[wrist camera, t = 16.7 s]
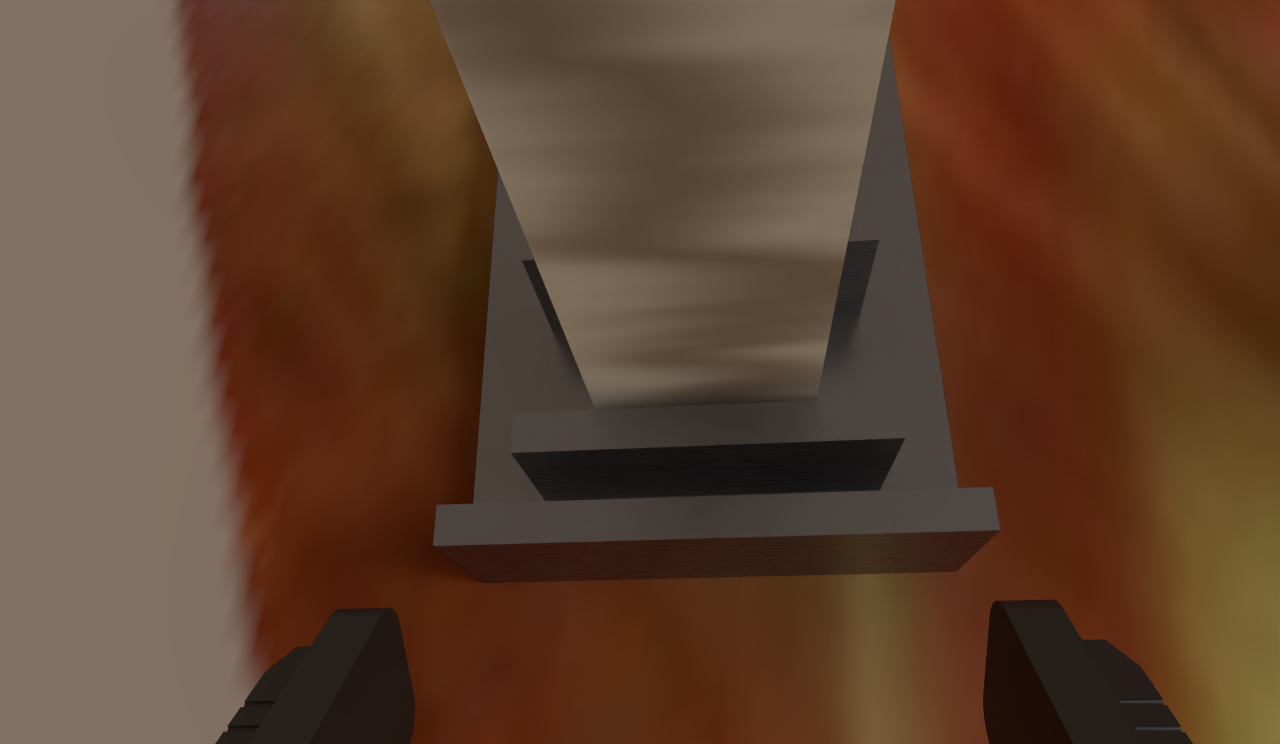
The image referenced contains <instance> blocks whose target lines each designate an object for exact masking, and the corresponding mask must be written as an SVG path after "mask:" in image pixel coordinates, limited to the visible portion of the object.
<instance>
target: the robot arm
mask: <svg viewBox="0 0 1280 744" xmlns="http://www.w3.org/2000/svg"><path fill="white" fill-rule="evenodd" d="M983 707H984V719H985V726H986V731H987V735H988V740H989V743H990V744H1193V743H1192V742H1191V740H1190V739H1189V737H1188V736H1187V734H1186V733H1185V732H1181V728H1180V724H1179V723H1178V721H1177V720H1176V718H1175V717H1174V715H1173V714H1172V712H1171V711H1170V709H1169V708H1168V706H1167V705H1163V702H1162V697H1161V696H1160V694H1159V693H1158V692H1157V690H1156V689H1155V687H1154V686H1153V684H1152V683H1151V681H1150V680H1149V678H1148V677H1147V675H1146V674H1145V672H1144V671H1143V669H1142V668H1141V667H1140V666H1139V665H1138V664H1136V663H1135V662H1134V661H1132V660H1131V659H1130V658H1129V657H1127V656H1126V655H1125V654H1123V653H1122V652H1121V651H1119V650H1118V649H1117V648H1115V647H1114V646H1113V645H1111V644H1110V643H1109V642H1107V641H1106V640H1082V639H1081V637H1080V636H1079V634H1078V632H1077V631H1076V629H1075V627H1074V626H1073V624H1072V623H1071V621H1070V619H1069V618H1068V616H1067V614H1066V613H1065V611H1064V609H1063V608H1062V606H1061V605H1060V604H1059V603H1058V602H1057V601H1056V600H1013V601H995V602H994V603H993V604H992V607H991V611H990V619H989V631H988V644H987V656H986V669H985V681H984V694H983ZM414 717H415V704H414V695H413V690H412V685H411V680H410V674H409V669H408V664H407V659H406V654H405V649H404V644H403V639H402V634H401V628H400V623H399V619H398V616H397V614H396V612H395V611H394V610H393V609H391V608H368V609H338V610H336V611H335V612H334V613H333V614H332V615H331V616H330V618H329V619H328V621H327V623H326V624H325V626H324V627H323V629H322V630H321V632H320V633H319V635H318V637H317V638H316V640H315V641H314V643H313V644H312V646H311V647H296V648H295V649H293V650H292V651H291V652H290V653H288V654H287V655H286V656H285V657H283V658H282V659H281V660H280V661H278V662H277V663H276V664H275V665H273V666H272V667H271V668H269V669H268V670H267V671H266V672H265V673H264V674H263V676H262V677H261V679H260V680H259V681H258V683H257V684H256V686H255V687H254V689H253V690H252V692H251V693H250V694H249V696H248V697H247V699H246V700H245V706H244V707H241V708H240V709H239V711H238V712H237V713H236V715H235V716H234V718H233V719H232V720H231V722H230V723H229V725H228V731H227V732H223V733H222V735H221V736H220V738H219V739H218V741H217V742H216V744H410V741H411V737H412V733H413V727H414Z"/></svg>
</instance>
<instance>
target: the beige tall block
mask: <svg viewBox="0 0 1280 744" xmlns="http://www.w3.org/2000/svg"><path fill="white" fill-rule="evenodd" d="M429 1H430V3H431V6H432V8H433V11H434V13H435V16H436V18H437V21H438V23H439V26H440V28H441V30H442V33H443V35H444V38H445V40H446V43H447V45H448V48H449V50H450V53H451V55H452V58H453V60H454V63H455V65H456V67H457V70H458V72H459V75H460V77H461V80H462V82H463V85H464V87H465V90H466V92H467V95H468V97H469V99H470V102H471V104H472V107H473V109H474V112H475V114H476V117H477V119H478V122H479V124H480V127H481V129H482V131H483V134H484V136H485V139H486V141H487V144H488V146H489V149H490V151H491V154H492V156H493V159H494V161H495V164H496V166H497V168H498V171H499V173H500V176H501V178H502V181H503V183H504V186H505V188H506V191H507V193H508V196H509V198H510V200H511V203H512V205H513V208H514V210H515V213H516V215H517V218H518V220H519V223H520V225H521V228H522V230H523V233H524V235H525V237H526V240H527V242H528V245H529V247H530V250H531V252H532V255H533V257H534V260H535V262H536V265H537V267H538V269H539V272H540V274H541V277H542V279H543V282H544V284H545V287H546V289H547V292H548V294H549V297H550V299H551V301H552V304H553V306H554V309H555V311H556V314H557V316H558V319H559V321H560V324H561V326H562V329H563V331H564V334H565V336H566V338H567V341H568V343H569V346H570V348H571V351H572V353H573V356H574V358H575V361H576V363H577V366H578V368H579V370H580V373H581V375H582V378H583V380H584V383H585V385H586V388H587V390H588V393H589V395H590V398H591V400H592V403H593V405H594V407H595V409H618V408H642V407H666V406H690V405H714V404H738V403H761V402H785V401H809V400H817V396H818V390H819V385H820V380H821V375H822V370H823V365H824V360H825V355H826V350H827V345H828V340H829V335H830V330H831V325H832V320H833V315H834V309H835V304H836V299H837V294H838V289H839V284H840V279H841V274H842V269H843V264H844V259H845V254H846V249H847V244H848V239H849V234H850V228H851V223H852V218H853V213H854V208H855V203H856V198H857V193H858V188H859V183H860V178H861V173H862V168H863V163H864V158H865V152H866V147H867V142H868V137H869V132H870V127H871V122H872V117H873V112H874V107H875V102H876V97H877V92H878V87H879V82H880V77H881V71H882V66H883V61H884V56H885V51H886V46H887V41H888V36H889V31H890V26H891V21H892V16H893V11H894V6H895V1H896V0H429Z"/></svg>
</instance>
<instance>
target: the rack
mask: <svg viewBox="0 0 1280 744" xmlns="http://www.w3.org/2000/svg"><path fill="white" fill-rule="evenodd" d="M999 531H1000V525H999V519H998V514H997V508H996V502H995V496H994V490H993V487H973V488H958V481H957V475H956V468H955V462H954V455H953V449H952V442H951V436H950V429H949V422H948V416H947V409H946V403H945V396H944V390H943V383H942V377H941V370H940V364H939V357H938V351H937V344H936V338H935V331H934V325H933V318H932V312H931V305H930V299H929V292H928V286H927V279H926V272H925V266H924V259H923V253H922V246H921V240H920V233H919V227H918V220H917V214H916V207H915V201H914V194H913V188H912V181H911V175H910V168H909V162H908V155H907V149H906V142H905V135H904V129H903V122H902V116H901V109H900V103H899V96H898V90H897V83H896V77H895V70H894V64H893V57H892V51H891V44H890V38H889V36H888V41H887V46H886V51H885V56H884V61H883V66H882V71H881V77H880V82H879V87H878V92H877V97H876V102H875V107H874V112H873V117H872V122H871V127H870V132H869V137H868V142H867V147H866V152H865V158H864V163H863V168H862V173H861V178H860V183H859V188H858V193H857V198H856V203H855V208H854V213H853V218H852V223H851V228H850V234H849V239H848V244H847V249H846V254H845V259H844V264H843V269H842V274H841V279H840V284H839V289H838V294H837V299H836V304H835V309H834V315H833V320H832V325H831V330H830V335H829V340H828V345H827V350H826V355H825V360H824V365H823V370H822V375H821V380H820V385H819V390H818V396H817V400H809V401H785V402H761V403H738V404H714V405H690V406H666V407H642V408H618V409H595V407H594V405H593V403H592V400H591V398H590V395H589V393H588V390H587V388H586V385H585V383H584V380H583V378H582V375H581V373H580V370H579V368H578V366H577V363H576V361H575V358H574V356H573V353H572V351H571V348H570V346H569V343H568V341H567V338H566V336H565V334H564V331H563V329H562V326H561V324H560V321H559V319H558V316H557V314H556V311H555V309H554V306H553V304H552V301H551V299H550V297H549V294H548V292H547V289H546V287H545V284H544V282H543V279H542V277H541V274H540V272H539V269H538V267H537V265H536V262H535V260H534V257H533V255H532V252H531V250H530V247H529V245H528V242H527V240H526V237H525V235H524V233H523V230H522V228H521V225H520V223H519V220H518V218H517V215H516V213H515V210H514V208H513V205H512V203H511V200H510V198H509V196H508V193H507V191H506V188H505V186H504V183H503V181H502V178H501V176H500V173H499V171H498V179H497V192H496V206H495V219H494V232H493V246H492V259H491V273H490V286H489V299H488V313H487V326H486V340H485V353H484V366H483V380H482V393H481V407H480V420H479V433H478V447H477V460H476V473H475V487H474V500H473V504H448V505H437V507H436V518H435V528H434V539H433V546H434V547H435V548H436V549H438V550H439V551H440V552H442V553H443V554H444V555H446V556H447V557H449V558H450V559H451V560H453V561H454V562H455V563H457V564H458V565H459V566H461V567H462V568H464V569H465V570H466V571H468V572H469V573H470V574H472V575H473V576H474V577H476V578H477V579H479V580H480V581H481V582H483V583H491V582H533V581H574V580H616V579H658V578H700V577H742V576H784V575H825V574H867V573H909V572H951V571H958V570H959V569H960V568H961V567H962V566H963V565H964V564H965V563H966V562H967V561H968V560H969V559H970V558H971V557H972V556H973V555H975V554H976V553H977V552H978V551H979V550H980V549H981V548H982V547H983V546H984V545H985V544H986V543H987V542H988V541H989V540H990V539H991V538H993V537H994V536H995V535H996V534H997V533H998V532H999Z"/></svg>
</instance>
